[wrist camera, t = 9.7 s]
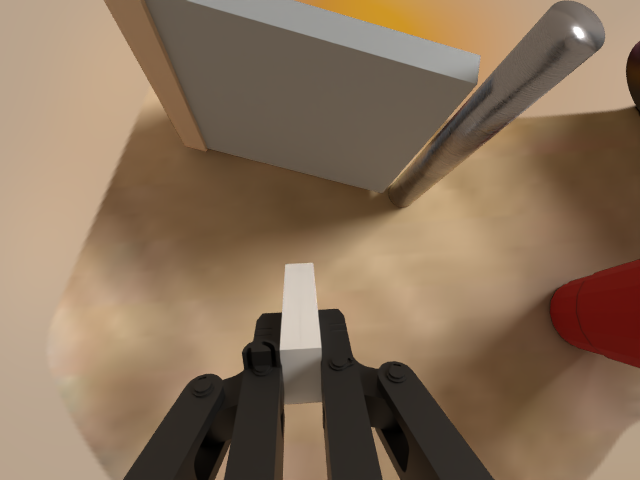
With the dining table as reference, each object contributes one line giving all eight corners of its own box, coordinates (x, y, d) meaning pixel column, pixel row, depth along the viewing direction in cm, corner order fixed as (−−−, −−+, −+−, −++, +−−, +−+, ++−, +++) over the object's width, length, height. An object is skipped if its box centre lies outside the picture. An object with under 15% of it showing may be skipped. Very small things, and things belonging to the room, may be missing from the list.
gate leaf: (385, 173, 29) (494, 32, 14) (381, 196, 28) (490, 74, 14) (193, 123, 28) (99, -87, 13) (184, 146, 27) (78, -47, 13)
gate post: (410, 180, 30) (590, -2, 13) (417, 204, 30) (614, 51, 12) (385, 184, 30) (537, 2, 12) (392, 209, 29) (560, 57, 12)
